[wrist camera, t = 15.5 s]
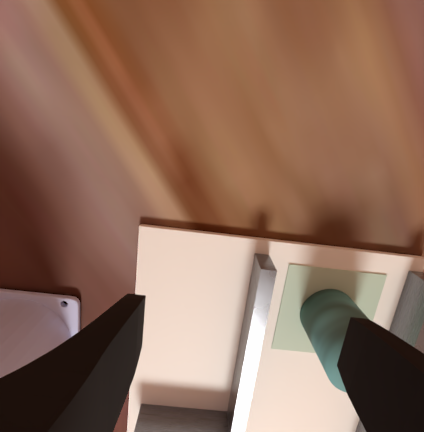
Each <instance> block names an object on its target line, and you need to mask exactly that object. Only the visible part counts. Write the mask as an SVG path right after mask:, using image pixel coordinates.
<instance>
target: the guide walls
mask: <svg viewBox="0 0 424 432" xmlns="http://www.w3.org/2000/svg"><path fill="white" fill-rule="evenodd" d="M276 274H277V270H276V268H275V266H274V264H273V262H272V260H271V258H270V256H269V255H267V254H258V253H255V254H254V260H253V266H252V272H251V277H250V283H249V289H248V295H247V300H246V306H245V312H244V317H243V323H242V329H241V335H240V340H239V346H238V352H237V358H236V363H235V369H234V375H233V380H232V386H231V392H230V398H229V403H228V409H227V411H217V410H206V409H195V408H184V407H173V406H162V405H151V404H141V406H140V410H139V414H138V418H137V422H136V426H135V430H134V432H245V429H246V424H247V419H248V414H249V409H250V404H251V399H252V394H253V389H254V384H255V379H256V374H257V369H258V364H259V359H260V354H261V349H262V344H263V339H264V334H265V329H266V324H267V319H268V314H269V309H270V304H271V299H272V294H273V289H274V284H275V279H276ZM389 331H390V332H391V333H393V334H394V335H396V336H397V337H399V338H401V339H402V340H404V341H405V342H407V343H408V344H410V345H411V346H413V347H415V348H416V349H418V350H419V351H421V352H422V353H424V273H423V272H418V271H409V272H408V275H407V278H406V281H405V284H404V287H403V290H402V293H401V296H400V299H399V302H398V305H397V308H396V311H395V314H394V317H393V320H392V323H391V326H390V329H389ZM355 432H366V430H365V428H364V426H363V424H362V422H361V421H360V419H359V422H358V425H357V428H356V431H355Z"/></svg>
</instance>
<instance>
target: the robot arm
mask: <svg viewBox="0 0 424 432" xmlns="http://www.w3.org/2000/svg"><path fill="white" fill-rule="evenodd" d="M145 299H146V295H137V294H127V295H125V296H124V297H123V298H122V299H120V300H119V301H118V302H117V303H115V304H114V305H113V306H112V307H110V308H109V309H108V310H107V311H106V312H104V313H103V314H102V315H100V316H99V317H98V318H97V319H95V320H94V321H93V322H91V323H90V324H89V325H87V326H86V327H85V328H83V329H82V330H81V331H80V300H79V299H78V298H77V297H74V296H67V295H57V294H47V293H38V292H28V291H19V290H9V289H0V432H113V430H114V428H115V425H116V422H117V420H118V417H119V415H120V412H121V409H122V407H123V404H124V402H125V399H126V396H127V394H128V391H129V388H130V386H131V383H132V381H133V378H134V375H135V372H136V368H137V364H138V360H139V356H140V352H141V349H142V341H143V327H144V313H145ZM63 301H66V302H67V303H68V304H65V303H64V302H63ZM337 367H338V370H339V373H340V376H341V379H342V381H343V384H344V387H345V389H346V392H347V394H348V397H349V399H350V401H351V403H352V405H353V407H354V409H355V411H356V413H357V415H358V417H359V419H360V421H361V422H362V424H363V426H364V428H365V430H366V432H424V353H422V352H421V351H419V350H418V349H416V348H415V347H413V346H411V345H410V344H408V343H407V342H405V341H404V340H402V339H401V338H399V337H397V336H396V335H394V334H393V333H391V332H390V331H388V330H386V329H385V328H383V327H381V326H380V325H378V324H376V323H375V322H373V321H371V320H369V319H364V318H355V317H350V321H349V324H348V328H347V331H346V335H345V338H344V342H343V345H342V349H341V352H340V356H339V359H338V363H337Z"/></svg>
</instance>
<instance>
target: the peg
mask: <svg viewBox="0 0 424 432" xmlns="http://www.w3.org/2000/svg"><path fill="white" fill-rule="evenodd" d="M350 317H355V318H364V319H369V318H368V317H367V316H366V315H365V314H364V313H363V312H362V310H361V309H360V308H359V307H358V306H357V305H356V304H355V302H354V301H353V300H352V299H351V298H350V297H349V296H348V295H347V294H346V293H344V292H342V291H340V290H336V289H324V290H320V291H317V292H315V293H314V294H312V295H311V296H309V297H308V298H307V299H306V300H305V302H304V303H303V305H302V307H301V310H300V321H301V324H302V326H303V328H304V330H305V332H306V334H307V336H308V338H309V340H310V342H311V344H312V346H313V348H314V350H315V352H316V354H317V356H318V358H319V360H320V362H321V364H322V366H323V368H324V370H325V372H326V374H327V377H328V379H329V380H330V382H331V383H332V384H333V385H334V386H335V387H336V388H337V389H339V390H341V391H343V392H346V389H345V387H344V384H343V381H342V379H341V376H340V373H339V370H338V367H337V363H338V359H339V356H340V352H341V349H342V345H343V342H344V338H345V335H346V331H347V328H348V324H349V321H350ZM369 320H370V319H369ZM346 393H347V392H346Z"/></svg>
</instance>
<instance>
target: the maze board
mask: <svg viewBox="0 0 424 432" xmlns="http://www.w3.org/2000/svg"><path fill="white" fill-rule="evenodd" d="M255 253H258V254H267V255H269V256H270V258H271V260H272V262H273V264H274V266H275V268H276V270H277V274H276V279H275V284H274V289H273V294H272V299H271V304H270V309H269V314H268V319H267V324H266V329H265V334H264V339H263V344H262V349H261V354H260V359H259V364H258V369H257V374H256V379H255V384H254V389H253V394H252V399H251V404H250V409H249V414H248V419H247V424H246V429H245V432H355V431H356V428H357V425H358V422H359V417H358V415H357V413H356V411H355V409H354V407H353V405H352V403H351V401H350V399H349V397H348V394H347V393H346V392H343V391H341V390H339V389H337V388H336V387H335V386H334V385H333V384H332V383H331V382H330V380H329V379H328V377H327V374H326V372H325V370H324V368H323V366H322V364H321V362H320V360H319V358H318V356H317V354H316V352H315V350H314V348H313V346H312V344H311V342H310V340H309V338H308V336H307V334H306V332H305V330H304V328H303V326H302V324H301V321H300V310H301V307H302V305H303V303H304V302H305V300H306V299H307V298H308V297H309V296H311V295H312V294H314V293H315V292H317V291H320V290H324V289H336V290H340V291H342V292H344V293H346V294H347V295H348V296H349V297H350V298H351V299H352V300H353V301H354V302H355V304H356V305H357V306H358V307H359V308H360V309H361V310H362V312H363V313H364V314H365V315H366V316H367V317H368V318H369V319H370V320H371V321H373V322H375V323H376V324H378V325H380V326H381V327H383V328H385V329H386V330H388V331H389V329H390V326H391V323H392V320H393V317H394V314H395V311H396V308H397V305H398V302H399V299H400V296H401V293H402V290H403V287H404V284H405V281H406V278H407V275H408V272H409V271H418V272H423V270H424V257H423V256H416V255H408V254H399V253H390V252H381V251H373V250H364V249H355V248H347V247H338V246H329V245H320V244H312V243H303V242H294V241H286V240H277V239H268V238H260V237H251V236H242V235H233V234H225V233H216V232H207V231H199V230H190V229H181V228H172V227H164V226H155V225H146V224H140V226H139V238H138V255H137V272H136V289H135V294H137V295H146V299H145V313H144V327H143V341H142V349H141V352H140V356H139V360H138V364H137V368H136V372H135V375H134V378H133V381H132V383H131V386H130V390H129V407H128V424H127V432H134V430H135V426H136V422H137V418H138V414H139V410H140V406H141V404H151V405H162V406H173V407H184V408H195V409H206V410H217V411H227V409H228V403H229V398H230V392H231V386H232V380H233V375H234V369H235V363H236V358H237V352H238V346H239V340H240V335H241V329H242V323H243V317H244V312H245V306H246V300H247V295H248V289H249V283H250V277H251V272H252V266H253V260H254V254H255Z"/></svg>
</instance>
